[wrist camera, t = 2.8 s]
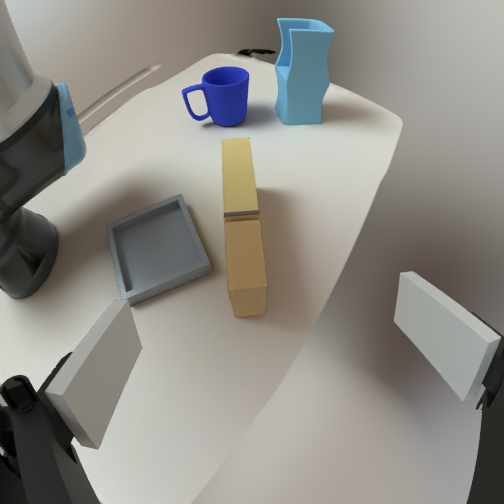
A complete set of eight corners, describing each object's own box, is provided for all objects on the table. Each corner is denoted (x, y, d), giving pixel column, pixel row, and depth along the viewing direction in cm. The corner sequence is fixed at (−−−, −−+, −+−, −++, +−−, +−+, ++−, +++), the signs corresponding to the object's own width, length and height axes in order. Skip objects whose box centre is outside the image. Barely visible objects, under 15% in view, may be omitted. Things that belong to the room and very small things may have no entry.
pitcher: (273, 104, 53) (276, 18, 36) (308, 102, 54) (319, 19, 36) (283, 126, 50) (290, 30, 32) (321, 123, 50) (337, 32, 33)
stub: (264, 315, 34) (267, 286, 25) (235, 317, 34) (227, 289, 25) (258, 262, 37) (259, 219, 28) (231, 264, 37) (224, 222, 28)
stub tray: (129, 306, 34) (122, 300, 32) (113, 234, 39) (106, 226, 37) (213, 271, 36) (210, 263, 34) (184, 204, 41) (181, 193, 39)
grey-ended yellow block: (258, 261, 37) (259, 216, 28) (231, 263, 37) (224, 219, 28) (250, 187, 43) (249, 136, 34) (227, 189, 43) (221, 138, 34)
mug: (184, 119, 52) (176, 78, 43) (240, 103, 54) (239, 63, 45) (195, 141, 48) (186, 96, 39) (256, 124, 50) (256, 79, 41)
